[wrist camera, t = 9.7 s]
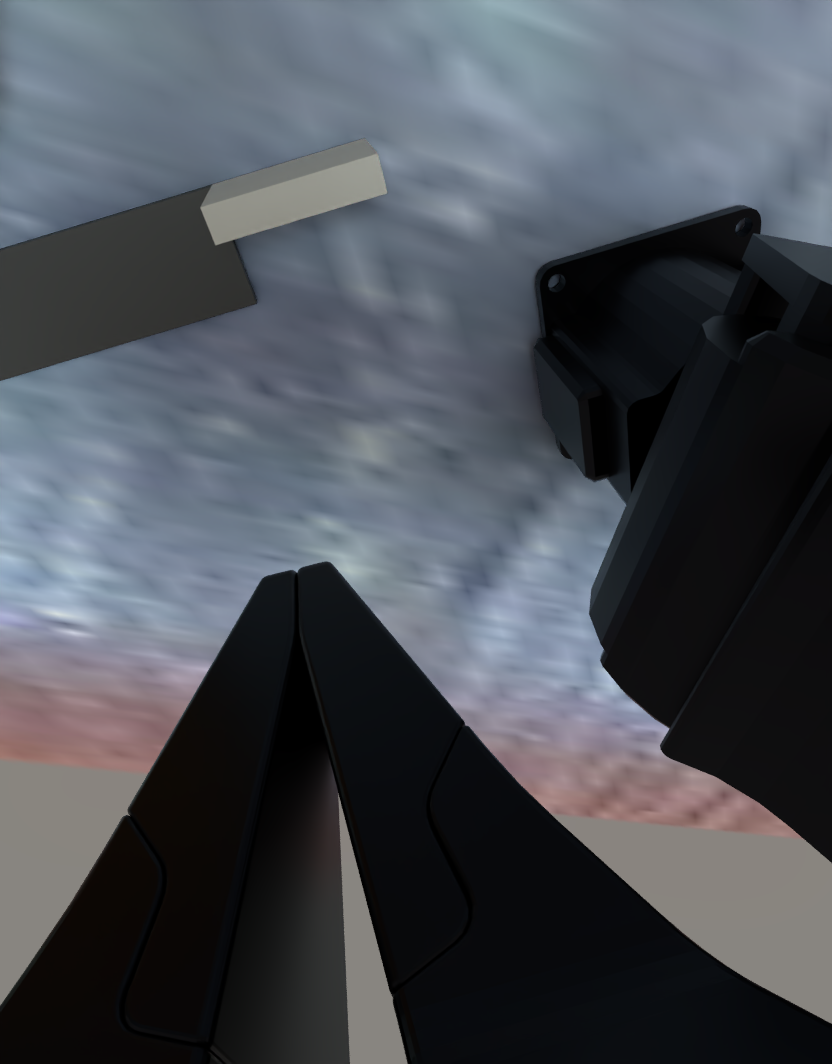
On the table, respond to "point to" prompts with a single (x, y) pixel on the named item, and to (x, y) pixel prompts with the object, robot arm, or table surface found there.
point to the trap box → (161, 259)
